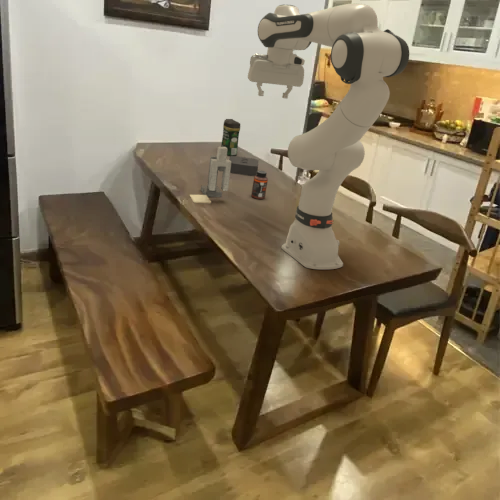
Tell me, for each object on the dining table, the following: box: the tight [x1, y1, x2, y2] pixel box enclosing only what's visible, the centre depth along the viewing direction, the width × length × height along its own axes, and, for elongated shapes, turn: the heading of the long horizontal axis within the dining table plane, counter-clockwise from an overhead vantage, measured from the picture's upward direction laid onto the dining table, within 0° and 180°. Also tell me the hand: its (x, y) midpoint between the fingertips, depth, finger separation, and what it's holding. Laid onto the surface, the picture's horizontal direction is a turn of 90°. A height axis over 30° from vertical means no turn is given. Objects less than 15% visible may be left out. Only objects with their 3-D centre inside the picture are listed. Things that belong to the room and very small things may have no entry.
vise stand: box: [200, 154, 224, 198], centre depth 199 cm, size 15×7×16 cm, turn 19°
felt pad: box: [189, 194, 212, 204], centre depth 196 cm, size 8×7×1 cm
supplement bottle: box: [251, 170, 269, 200], centre depth 207 cm, size 6×6×11 cm
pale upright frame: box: [207, 146, 231, 192], centre depth 192 cm, size 3×7×17 cm, turn 109°
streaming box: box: [228, 155, 259, 177], centre depth 241 cm, size 14×14×5 cm
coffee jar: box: [220, 118, 241, 157], centre depth 264 cm, size 10×8×19 cm
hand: (272, 97), depth 176 cm, fingers open, 8 cm apart
